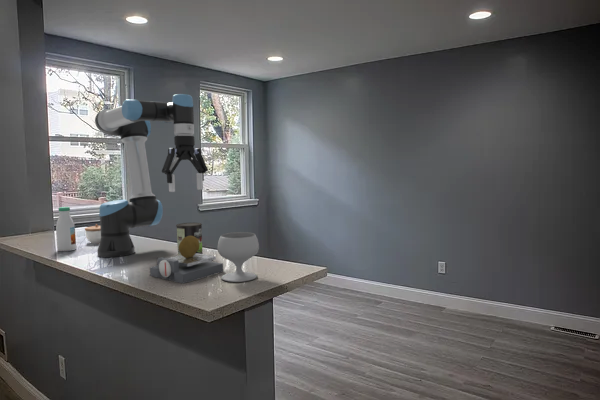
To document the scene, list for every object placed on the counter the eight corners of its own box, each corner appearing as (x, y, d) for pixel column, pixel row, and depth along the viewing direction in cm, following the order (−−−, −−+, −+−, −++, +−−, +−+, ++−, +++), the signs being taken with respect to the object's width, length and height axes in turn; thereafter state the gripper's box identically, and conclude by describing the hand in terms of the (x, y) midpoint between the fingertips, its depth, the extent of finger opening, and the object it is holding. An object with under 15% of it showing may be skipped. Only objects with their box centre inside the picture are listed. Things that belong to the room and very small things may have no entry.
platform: (163, 261, 154) (163, 259, 154) (192, 254, 164) (192, 252, 164) (187, 266, 146) (187, 263, 146) (215, 259, 157) (215, 256, 157)
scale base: (148, 276, 152) (147, 257, 151) (190, 265, 167) (189, 247, 166) (181, 284, 141) (180, 263, 141) (223, 271, 156) (222, 253, 156)
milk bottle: (66, 252, 195) (63, 208, 194) (53, 251, 198) (50, 208, 196) (80, 248, 203) (77, 206, 201) (67, 247, 205) (64, 206, 203)
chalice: (224, 272, 155) (223, 231, 154) (263, 272, 154) (262, 231, 152) (213, 283, 141) (211, 238, 140) (255, 284, 140) (253, 238, 138)
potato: (200, 254, 160) (199, 233, 159) (199, 259, 152) (198, 237, 151) (180, 255, 158) (179, 234, 158) (178, 260, 151) (177, 238, 150)
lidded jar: (80, 244, 215) (79, 225, 214) (96, 240, 225) (95, 222, 224) (98, 244, 212) (97, 226, 211) (113, 240, 222) (112, 222, 221)
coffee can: (206, 255, 185) (205, 222, 183) (196, 260, 175) (195, 226, 173) (184, 254, 187) (183, 222, 185) (173, 259, 177) (171, 225, 175)
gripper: (162, 133, 153) (165, 193, 155) (215, 136, 174) (217, 188, 175) (150, 134, 158) (153, 192, 160) (202, 137, 178) (204, 188, 180)
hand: (186, 190), depth 168 cm, fingers open, 13 cm apart
